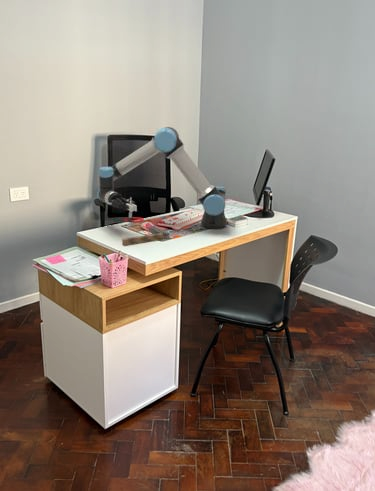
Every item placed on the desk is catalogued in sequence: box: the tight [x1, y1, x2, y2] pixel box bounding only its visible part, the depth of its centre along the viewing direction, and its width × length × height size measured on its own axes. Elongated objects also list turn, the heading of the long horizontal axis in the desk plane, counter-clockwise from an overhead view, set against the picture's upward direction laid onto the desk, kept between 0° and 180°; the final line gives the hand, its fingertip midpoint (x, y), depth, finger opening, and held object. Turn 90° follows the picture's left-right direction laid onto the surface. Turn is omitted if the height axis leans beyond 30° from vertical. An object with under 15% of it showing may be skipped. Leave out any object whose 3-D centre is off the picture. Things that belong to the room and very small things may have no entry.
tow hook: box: [124, 196, 145, 224], centre depth 223 cm, size 8×13×9 cm
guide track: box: [121, 225, 170, 247], centre depth 229 cm, size 26×16×3 cm, turn 123°
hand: (134, 208), depth 216 cm, fingers closed on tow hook
